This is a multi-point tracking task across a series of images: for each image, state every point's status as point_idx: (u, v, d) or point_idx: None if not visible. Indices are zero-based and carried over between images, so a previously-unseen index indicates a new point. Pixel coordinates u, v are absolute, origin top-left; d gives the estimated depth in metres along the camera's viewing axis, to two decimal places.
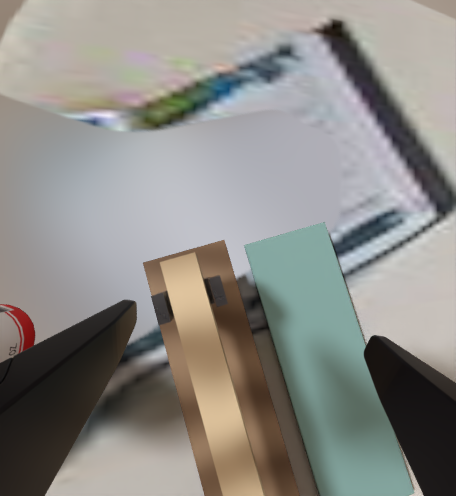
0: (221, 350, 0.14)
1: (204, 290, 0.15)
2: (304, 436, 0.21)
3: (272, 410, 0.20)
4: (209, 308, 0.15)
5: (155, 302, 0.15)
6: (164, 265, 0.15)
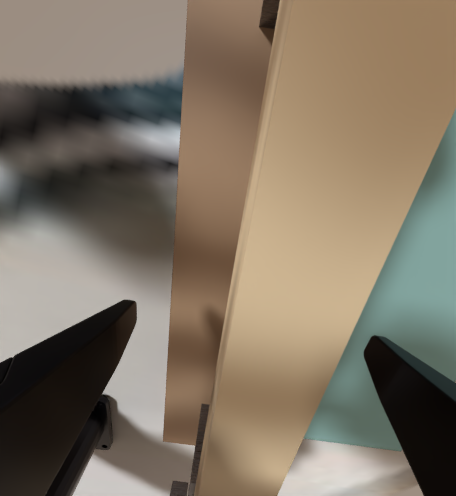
0: None
1: None
2: None
3: None
4: None
5: None
6: None
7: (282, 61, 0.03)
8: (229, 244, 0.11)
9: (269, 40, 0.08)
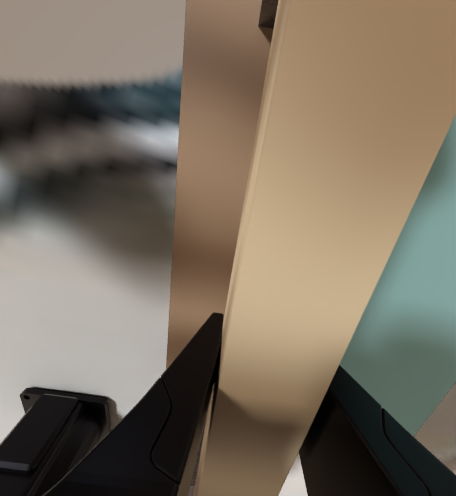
0: None
1: None
2: None
3: None
4: None
5: None
6: None
7: (280, 60, 0.03)
8: (228, 245, 0.11)
9: (269, 40, 0.08)
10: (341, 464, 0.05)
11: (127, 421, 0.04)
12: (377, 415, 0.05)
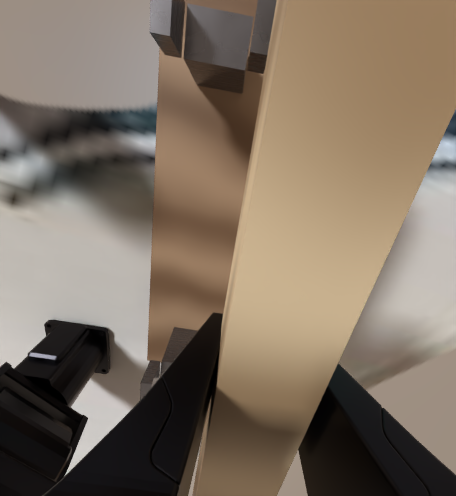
0: None
1: None
2: None
3: None
4: None
5: None
6: None
7: (278, 58, 0.03)
8: (187, 208, 0.17)
9: (203, 92, 0.14)
10: (341, 464, 0.05)
11: (127, 421, 0.04)
12: (377, 415, 0.05)
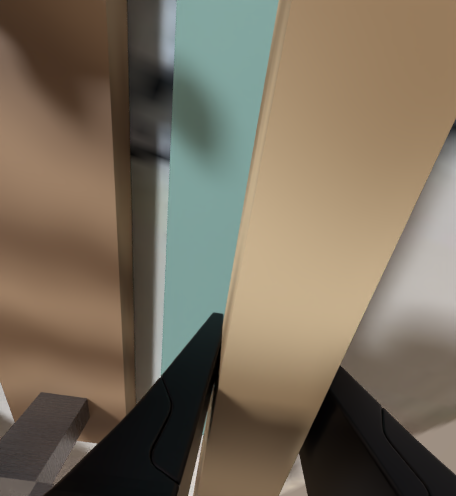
0: None
1: None
2: (164, 344, 0.14)
3: (116, 294, 0.11)
4: None
5: None
6: None
7: (282, 55, 0.03)
8: None
9: None
10: (341, 464, 0.05)
11: (127, 421, 0.04)
12: (377, 415, 0.05)
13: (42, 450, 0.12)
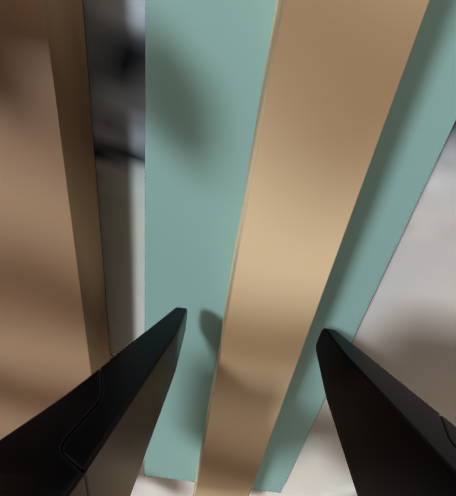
0: (394, 88, 0.04)
1: None
2: None
3: (80, 333, 0.09)
4: None
5: None
6: None
7: (268, 94, 0.04)
8: None
9: None
10: (404, 472, 0.05)
11: (49, 411, 0.04)
12: (438, 423, 0.05)
13: None
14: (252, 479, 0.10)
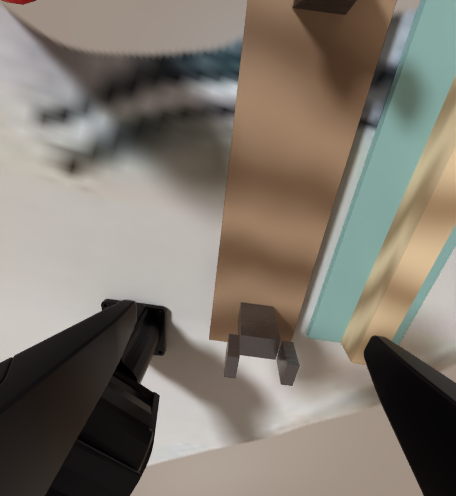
0: None
1: None
2: (336, 263, 0.19)
3: (326, 220, 0.17)
4: None
5: None
6: None
7: None
8: (267, 163, 0.15)
9: (298, 16, 0.12)
10: None
11: None
12: None
13: (271, 328, 0.17)
14: (410, 303, 0.17)
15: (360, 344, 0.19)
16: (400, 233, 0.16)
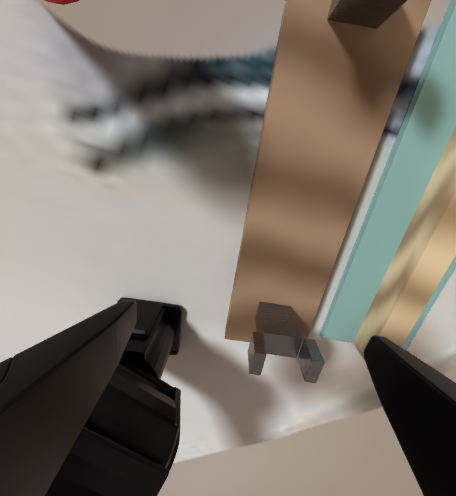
0: None
1: None
2: (352, 265, 0.20)
3: (347, 222, 0.17)
4: None
5: None
6: None
7: None
8: (293, 166, 0.16)
9: (332, 28, 0.13)
10: None
11: None
12: None
13: (292, 326, 0.18)
14: (425, 303, 0.18)
15: None
16: (417, 236, 0.17)
